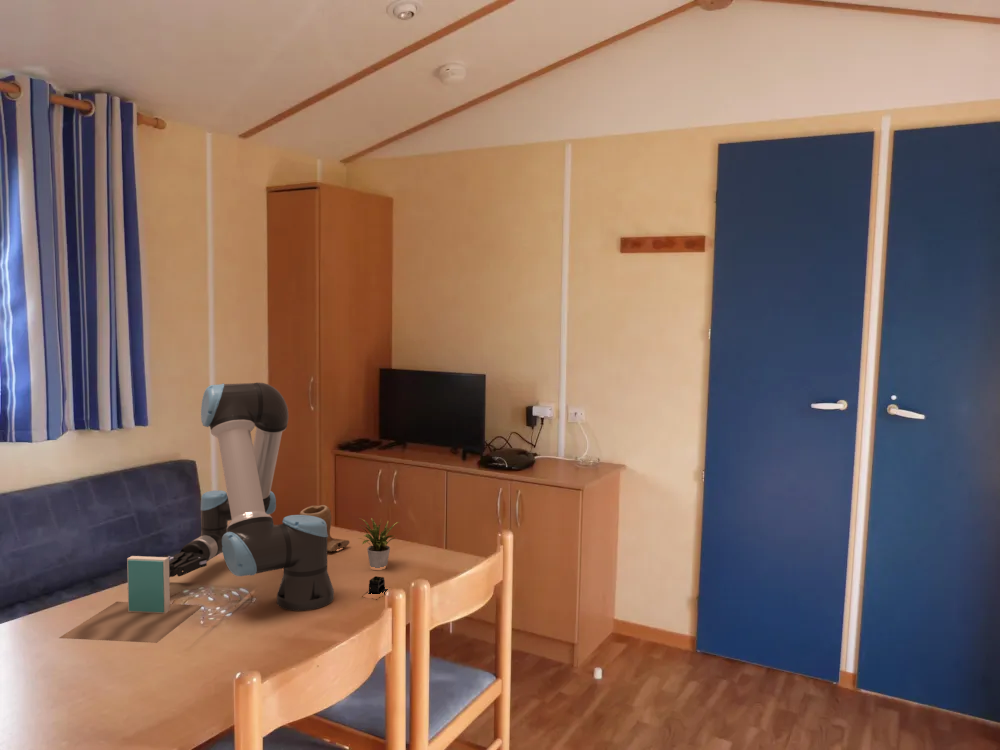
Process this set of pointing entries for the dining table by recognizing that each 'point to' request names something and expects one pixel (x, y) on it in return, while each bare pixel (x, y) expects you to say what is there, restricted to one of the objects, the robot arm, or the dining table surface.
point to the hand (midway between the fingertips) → (152, 580)
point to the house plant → (378, 545)
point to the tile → (148, 584)
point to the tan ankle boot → (325, 514)
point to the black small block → (377, 585)
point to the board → (131, 624)
